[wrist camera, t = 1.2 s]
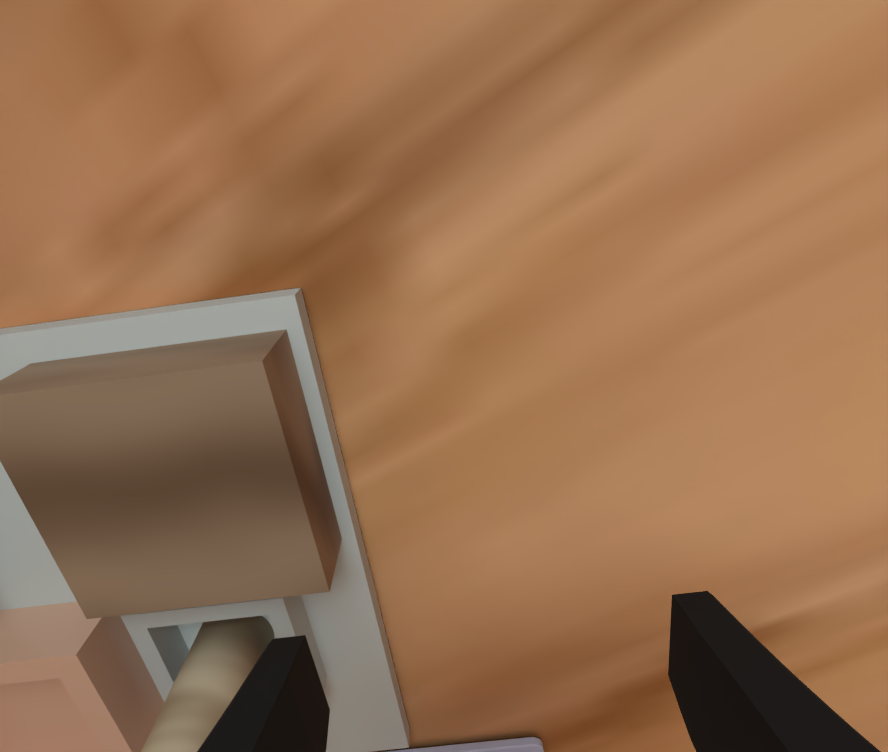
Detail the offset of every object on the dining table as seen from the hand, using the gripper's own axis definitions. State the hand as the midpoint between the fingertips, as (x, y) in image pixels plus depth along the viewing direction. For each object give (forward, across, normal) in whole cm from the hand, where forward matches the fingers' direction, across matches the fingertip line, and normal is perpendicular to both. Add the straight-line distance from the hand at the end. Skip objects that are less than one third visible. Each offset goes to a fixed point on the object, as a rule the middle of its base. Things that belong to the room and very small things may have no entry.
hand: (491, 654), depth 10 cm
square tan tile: (+9, +9, 0) cm, 12 cm away
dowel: (+9, +10, +8) cm, 15 cm away
